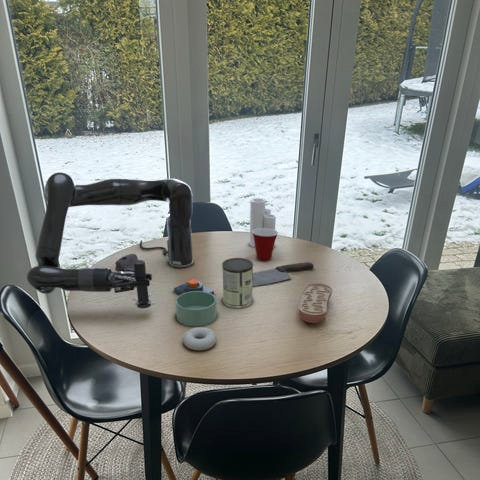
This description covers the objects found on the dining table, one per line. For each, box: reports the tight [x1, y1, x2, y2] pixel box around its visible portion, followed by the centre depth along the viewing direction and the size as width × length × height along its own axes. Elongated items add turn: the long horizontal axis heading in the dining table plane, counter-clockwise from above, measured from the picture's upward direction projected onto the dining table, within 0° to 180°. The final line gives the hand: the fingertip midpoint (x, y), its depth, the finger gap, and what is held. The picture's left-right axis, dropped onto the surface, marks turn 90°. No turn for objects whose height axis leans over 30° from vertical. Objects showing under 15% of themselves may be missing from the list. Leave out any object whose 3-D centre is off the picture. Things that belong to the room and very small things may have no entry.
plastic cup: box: [252, 228, 279, 262], centre depth 194 cm, size 11×11×12 cm
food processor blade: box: [131, 259, 156, 309], centre depth 148 cm, size 8×8×15 cm
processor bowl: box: [174, 291, 218, 327], centre depth 153 cm, size 13×13×6 cm
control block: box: [173, 280, 215, 296], centre depth 167 cm, size 12×8×4 cm
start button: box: [187, 278, 199, 288], centre depth 166 cm, size 4×4×2 cm
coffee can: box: [221, 257, 254, 309], centre depth 160 cm, size 10×10×14 cm
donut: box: [182, 326, 217, 351], centre depth 139 cm, size 10×4×10 cm
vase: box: [249, 197, 277, 248], centre depth 205 cm, size 11×7×20 cm, turn 77°
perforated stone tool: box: [115, 253, 139, 272], centre depth 182 cm, size 15×5×7 cm, turn 163°
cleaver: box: [252, 261, 314, 287], centre depth 181 cm, size 30×10×2 cm, turn 116°
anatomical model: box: [297, 282, 333, 324], centre depth 157 cm, size 23×10×5 cm, turn 164°
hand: (150, 279), depth 148 cm, fingers closed on food processor blade, 3 cm apart
